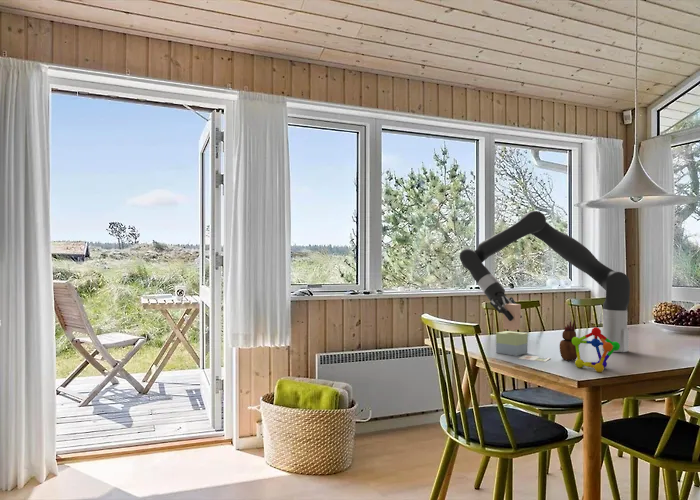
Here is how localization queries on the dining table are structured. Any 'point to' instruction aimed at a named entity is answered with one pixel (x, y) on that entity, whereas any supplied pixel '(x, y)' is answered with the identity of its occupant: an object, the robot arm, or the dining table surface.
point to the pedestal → (511, 343)
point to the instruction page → (534, 358)
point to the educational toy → (596, 342)
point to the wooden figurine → (568, 343)
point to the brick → (516, 312)
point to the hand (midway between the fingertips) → (516, 318)
